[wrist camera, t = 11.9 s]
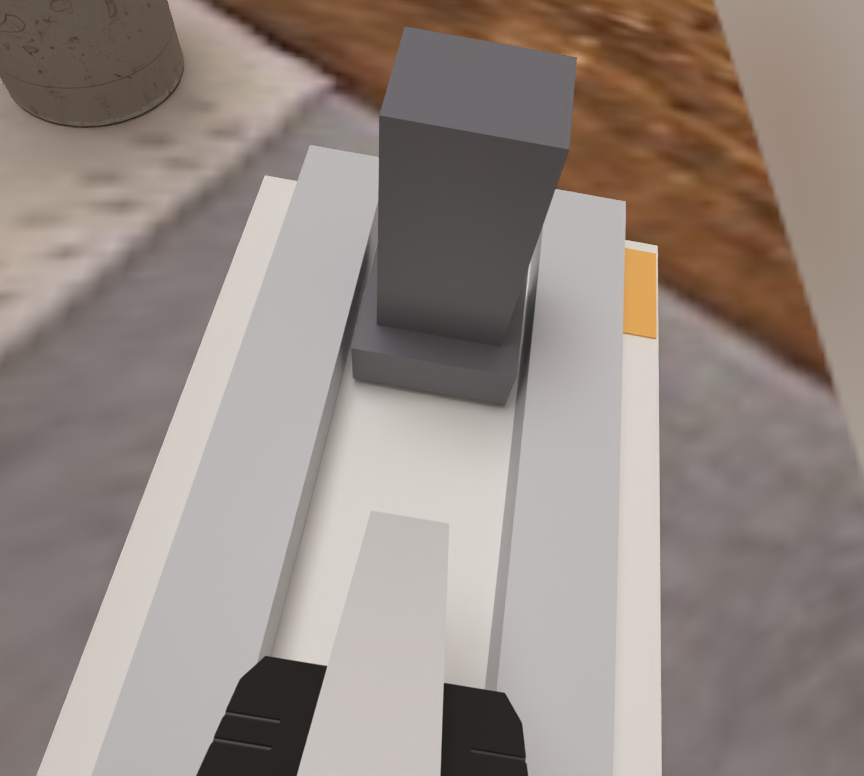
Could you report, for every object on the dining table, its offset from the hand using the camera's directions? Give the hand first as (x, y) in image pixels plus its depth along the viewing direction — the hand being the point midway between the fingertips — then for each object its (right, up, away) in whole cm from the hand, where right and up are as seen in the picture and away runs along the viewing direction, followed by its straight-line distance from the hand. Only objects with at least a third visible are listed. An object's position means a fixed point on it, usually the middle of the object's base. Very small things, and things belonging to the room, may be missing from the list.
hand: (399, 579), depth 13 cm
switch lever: (+1, +6, +11) cm, 12 cm away
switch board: (0, -1, +10) cm, 10 cm away
